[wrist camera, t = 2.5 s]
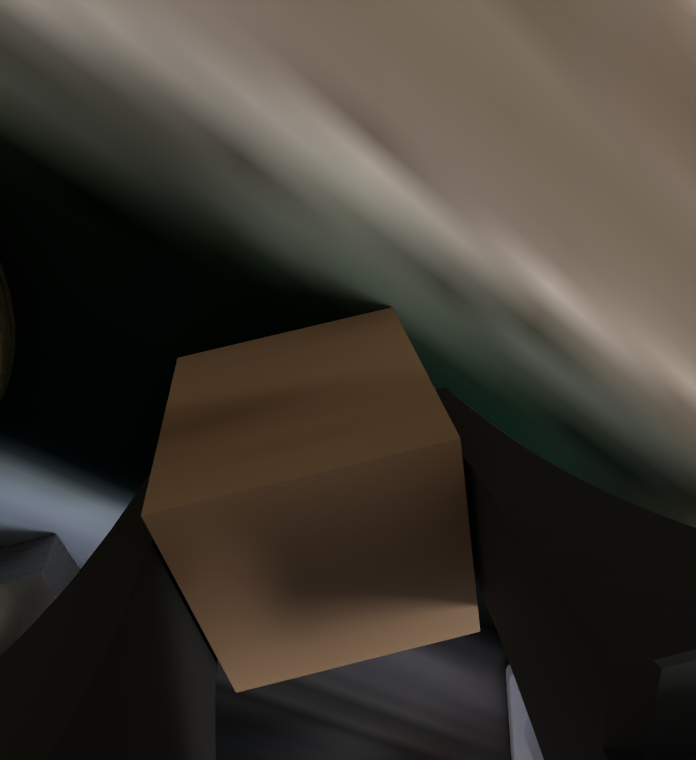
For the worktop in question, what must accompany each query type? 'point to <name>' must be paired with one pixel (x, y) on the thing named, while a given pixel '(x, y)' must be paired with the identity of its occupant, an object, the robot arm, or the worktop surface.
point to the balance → (32, 558)
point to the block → (313, 501)
